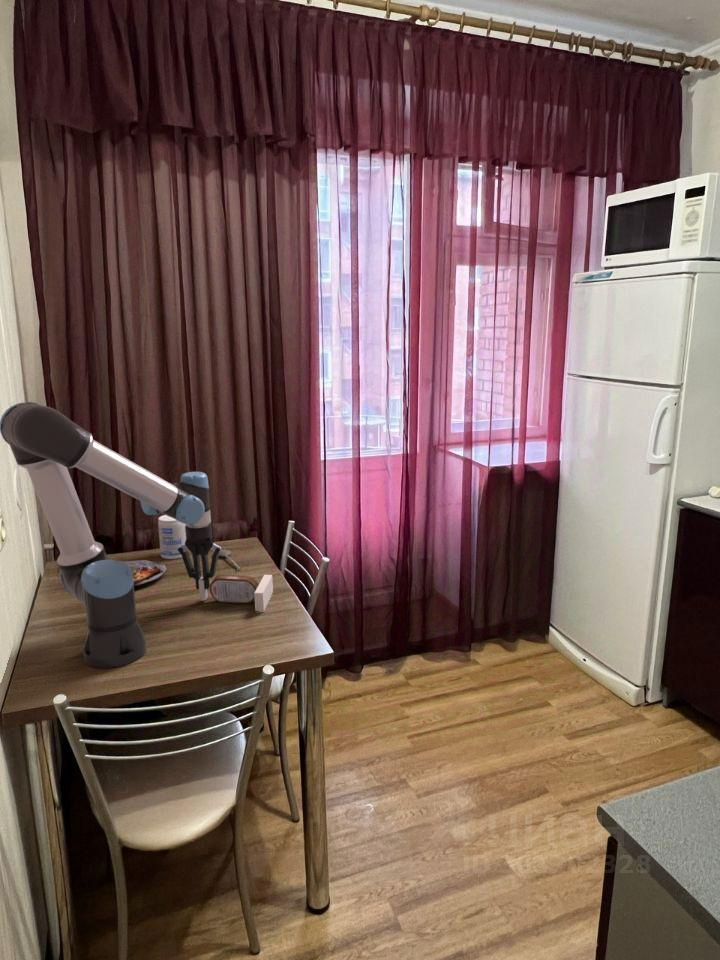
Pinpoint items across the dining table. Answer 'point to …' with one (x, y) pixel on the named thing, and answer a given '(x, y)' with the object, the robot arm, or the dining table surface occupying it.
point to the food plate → (146, 571)
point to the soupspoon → (225, 554)
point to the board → (263, 593)
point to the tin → (233, 589)
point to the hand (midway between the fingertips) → (203, 598)
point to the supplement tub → (171, 537)
